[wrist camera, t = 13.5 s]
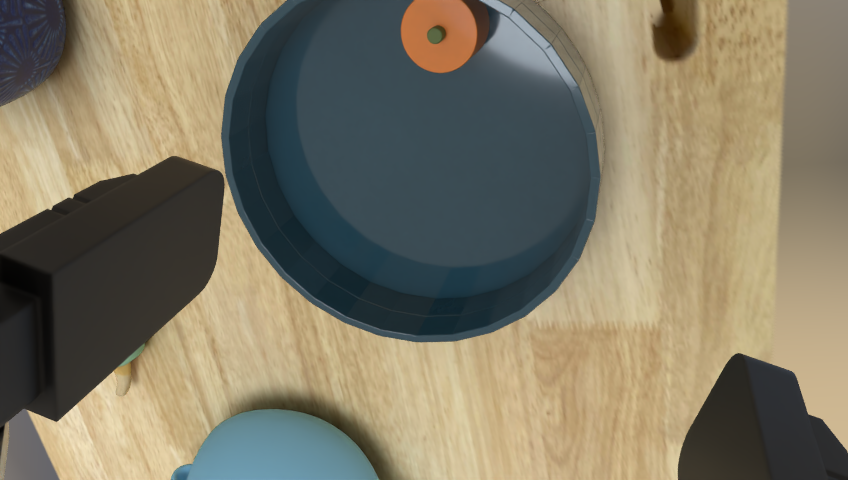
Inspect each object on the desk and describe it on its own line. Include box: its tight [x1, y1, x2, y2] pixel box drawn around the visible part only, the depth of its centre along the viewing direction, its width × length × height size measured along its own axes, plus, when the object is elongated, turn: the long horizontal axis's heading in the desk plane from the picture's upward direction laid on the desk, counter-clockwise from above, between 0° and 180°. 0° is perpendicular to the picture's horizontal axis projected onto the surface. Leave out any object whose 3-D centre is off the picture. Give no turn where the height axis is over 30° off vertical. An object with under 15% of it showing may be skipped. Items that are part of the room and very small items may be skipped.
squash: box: [401, 0, 489, 73], centre depth 37 cm, size 4×4×4 cm
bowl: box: [221, 0, 605, 342], centre depth 40 cm, size 21×21×5 cm
